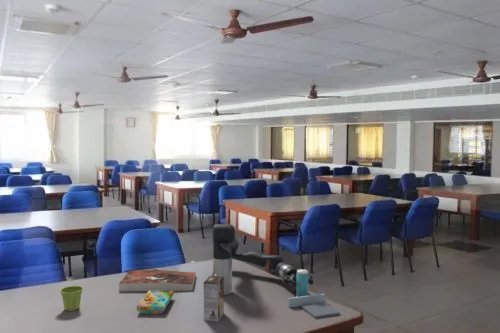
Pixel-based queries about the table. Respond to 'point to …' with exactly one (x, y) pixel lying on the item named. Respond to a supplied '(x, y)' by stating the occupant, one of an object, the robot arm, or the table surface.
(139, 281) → the board game box
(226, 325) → the table surface
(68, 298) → the plant pot
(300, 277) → the jar
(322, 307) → the mat
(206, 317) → the coffee box
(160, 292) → the puzzle game
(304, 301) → the wall
